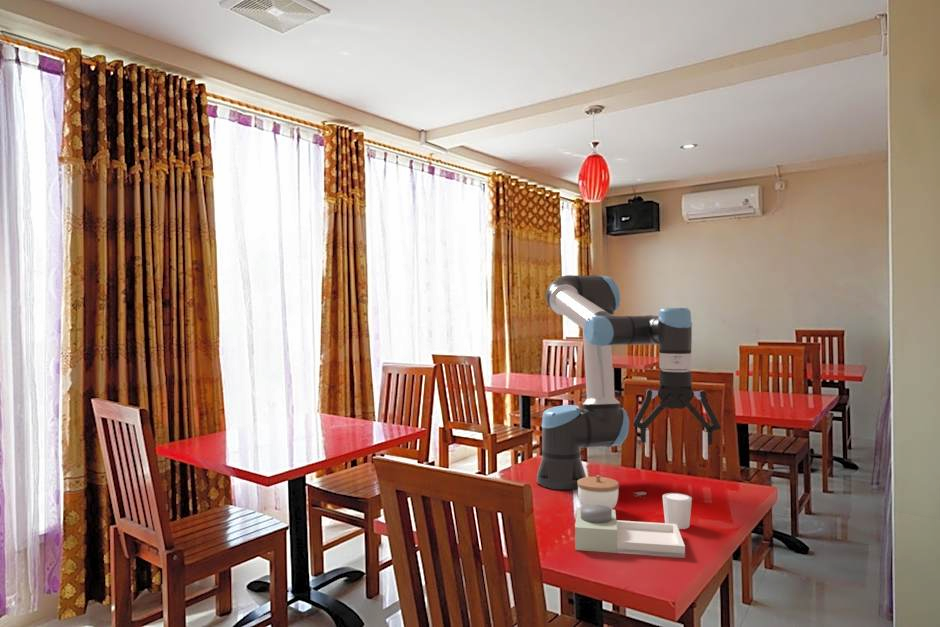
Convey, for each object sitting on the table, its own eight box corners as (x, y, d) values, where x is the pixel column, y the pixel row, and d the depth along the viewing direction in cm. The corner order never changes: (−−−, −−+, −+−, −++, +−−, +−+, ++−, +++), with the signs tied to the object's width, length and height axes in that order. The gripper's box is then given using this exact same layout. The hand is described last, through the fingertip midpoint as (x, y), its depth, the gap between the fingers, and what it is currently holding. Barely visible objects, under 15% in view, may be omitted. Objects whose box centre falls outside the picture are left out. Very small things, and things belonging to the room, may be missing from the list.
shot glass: (662, 528, 148) (662, 499, 148) (662, 519, 154) (662, 491, 154) (692, 531, 146) (692, 501, 146) (691, 521, 152) (691, 493, 152)
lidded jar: (588, 519, 154) (588, 482, 154) (570, 506, 164) (570, 472, 164) (626, 515, 157) (626, 479, 157) (606, 503, 167) (606, 469, 167)
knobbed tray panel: (577, 528, 148) (577, 499, 148) (676, 534, 143) (676, 504, 143) (575, 549, 134) (575, 518, 134) (685, 557, 130) (684, 525, 130)
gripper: (623, 371, 149) (624, 458, 149) (732, 372, 144) (733, 462, 143) (622, 368, 156) (623, 451, 156) (726, 369, 151) (727, 455, 151)
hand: (675, 457), depth 150 cm, fingers open, 13 cm apart
